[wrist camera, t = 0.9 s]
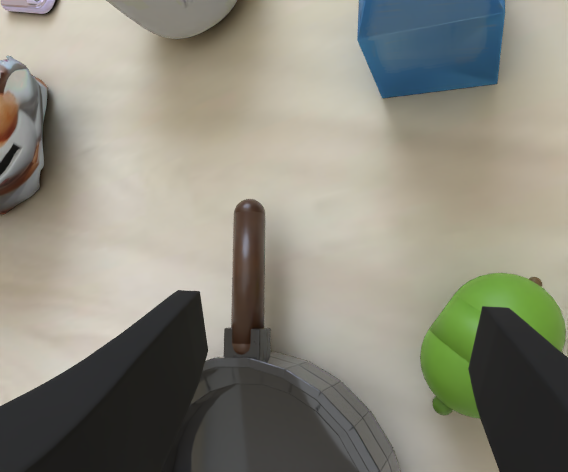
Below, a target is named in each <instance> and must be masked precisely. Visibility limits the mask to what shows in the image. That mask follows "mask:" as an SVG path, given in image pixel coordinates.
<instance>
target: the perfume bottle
mask: <svg viewBox="0 0 568 472" xmlns="http://www.w3.org/2000/svg"><path fill="white" fill-rule="evenodd" d="M504 17H505V0H359V14H358V38H357V40H358V42H359V45H360V47H361V49H362V52H363V54H364V56H365V59H366V61H367V64H368V66H369V68H370V71H371V73H372V75H373V78H374V80H375V82H376V85H377V87H378V89H379V92H380V94H381V96H382V98H389V97H397V96H405V95H413V94H421V93H428V92H436V91H444V90H452V89H460V88H468V87H476V86H484V85H491V84H497V81H498V71H499V62H500V53H501V44H502V35H503V26H504Z"/></svg>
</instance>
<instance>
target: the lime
mask: <svg viewBox="0 0 568 472" xmlns="http://www.w3.org/2000/svg"><path fill="white" fill-rule="evenodd" d="M482 306H487V307H506V308H510V309H511V310H512V311H513V312H515V313H516V314H517V315H518V316H520V317H521V318H522V319H523V320H524V321H525V322H527V323H528V324H529V325H530V326H531V327H532V328H534V329H535V330H536V331H537V332H538V333H539V334H540V335H542V336H543V337H544V338H545V339H546V340H547V341H549V342H550V343H551V344H552V345H553V346H554V347H556V348H557V349H558V350H559V351H560V352H562V350H563V347H564V343H565V334H566V329H565V323H564V318H563V316H562V313H561V311H560V308H559V307H558V305H557V304H556V302H555V301H554V299H553V298H552V297H551V296H550V295H549V294H548V293H547V292H546V291H545V290H544V289H543V288H542V282H541V280H540V279H539V278H536V277H531V278H529V279H527V278H524V277H521V276H518V275H514V274H507V273H493V274H487V275H483V276H479V277H477V278H475V279H473V280H470V281H469V282H467V283H466V284H465V285H463V286H462V287H461V288H460V289H459V290H458V291H457V292H456V293H455V294H454V296H453V297H452V299H451V300H450V301H449V303H448V304H447V305H446V307H445V308H444V309H443V311H442V312H441V313H440V315H439V316H438V318H437V319H436V320H435V322H434V323H433V324H432V326H431V327H430V329H429V330H428V332H427V334H426V335H425V337H424V340H423V343H422V347H421V356H420V359H421V368H422V372H423V375H424V378H425V380H426V382H427V384H428V386H429V388H430V389H431V391H432V392H433V393H434V394H435V396H436V397H435V398H434V399H433V408H434V410H435V411H436V412H437V413H438V414H440V415H448V414H450V413H451V412H452V410H454V411H456V412H458V413H460V414H462V415H466V416H469V417H473V418H480V416H479V413H478V410H477V407H476V402H475V398H474V394H473V389H472V385H471V380H470V375H469V370H468V367H469V363H470V359H471V354H472V350H473V345H474V341H475V336H476V332H477V328H478V323H479V319H480V314H481V310H482Z"/></svg>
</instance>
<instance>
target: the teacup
mask: <svg viewBox="0 0 568 472" xmlns="http://www.w3.org/2000/svg"><path fill="white" fill-rule="evenodd" d="M106 1H108V2H109V3H110V4H112V5H113V6H114V7H115V8H117V9H118V10H119V11H121V12H122V13H123V14H125V15H126V16H127V17H129V18H130V19H132V20H133V21H135V22H136V23H137V24H139V25H140V26H142V27H143V28H145V29H147V30H148V31H150V32H152V33H154V34H156V35H159V36H162V37H166V38H173V39H182V38H187V37H192V36H195V35H197V34H200V33H202V32H204V31H206V30H207V29H209V28H211V27H213V26H214V25H216V24H217V23H219V22H220V21H221V20H222V19H223V18H224V17H225V16H226V15H227V14H228V13H229V12H230V11H231V9H232V8H233V7H234V5H235V4H236V2H237V0H106Z"/></svg>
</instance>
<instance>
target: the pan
mask: <svg viewBox="0 0 568 472" xmlns="http://www.w3.org/2000/svg"><path fill="white" fill-rule="evenodd" d="M162 472H401V470H400V467H399V464H398V461H397V458H396V455H395V452H394V450H393V447H392V446H391V444H390V442H389V441H388V439H387V437H386V436H385V434H384V432H383V431H382V429H381V427H380V426H379V424H378V422H377V421H376V419H375V417H374V416H373V414H372V413H371V411H369V409H368V408H367V407H366V406H365V405H364V404H363V403H362V402H361V401H360V400H359V399H358V398H357V397H356V396H355V395H354V394H353V393H352V392H351V391H350V390H349V389H348V388H347V387H346V386H345V385H344V384H343V382H341V381H340V380H339V379H337V378H336V377H334V376H332V375H331V374H329V373H327V372H326V371H324V370H323V369H321V368H319V367H318V366H316V365H314V364H313V363H311V362H308V361H306V360H303V359H299V358H296V357H292V356H289V355H286V354H282V353H279V352H270V357H268V358H263V359H256V358H253V357H252V358H251V357H224V356H222V357H217V358H213V359H210V360H207V361H205V364H204V367H203V371H202V374H201V378H200V381H199V384H198V387H197V389H196V392H195V394H194V396H193V399H192V401H191V404H190V406H189V408H188V411H187V413H186V415H185V418H184V420H183V422H182V424H181V427H180V429H179V431H178V434H177V436H176V438H175V441H174V443H173V445H172V448H171V450H170V452H169V455H168V457H167V459H166V461H165V464H164V467H163V469H162Z"/></svg>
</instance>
